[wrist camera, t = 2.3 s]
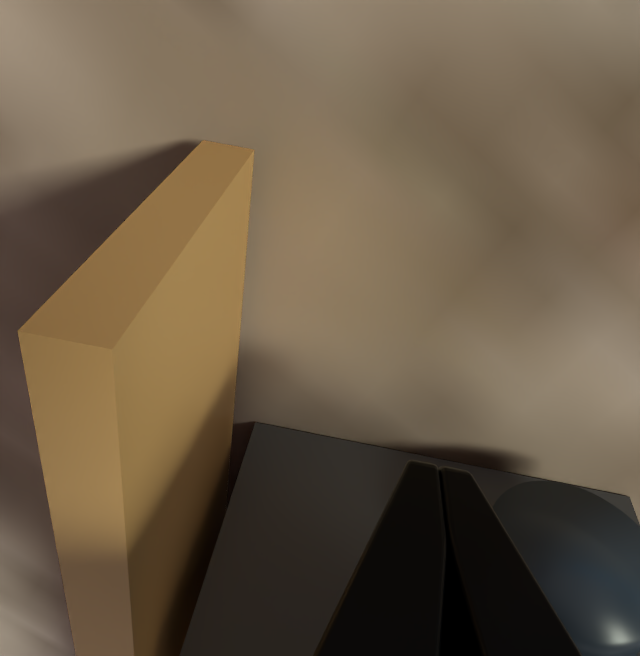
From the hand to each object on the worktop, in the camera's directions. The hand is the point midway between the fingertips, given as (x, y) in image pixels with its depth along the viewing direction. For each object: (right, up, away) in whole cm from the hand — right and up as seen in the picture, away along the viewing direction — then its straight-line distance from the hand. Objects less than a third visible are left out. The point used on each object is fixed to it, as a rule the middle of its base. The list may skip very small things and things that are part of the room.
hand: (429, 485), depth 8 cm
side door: (-4, -3, +6) cm, 8 cm away
